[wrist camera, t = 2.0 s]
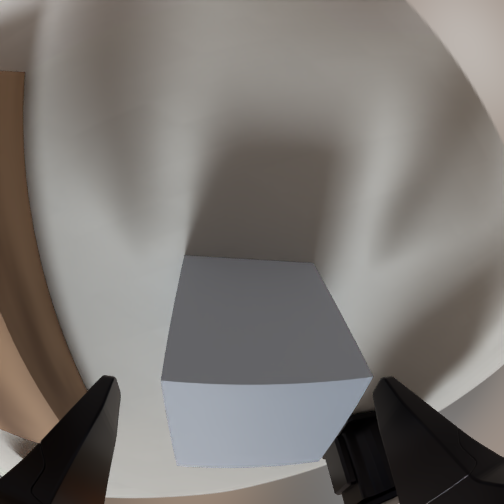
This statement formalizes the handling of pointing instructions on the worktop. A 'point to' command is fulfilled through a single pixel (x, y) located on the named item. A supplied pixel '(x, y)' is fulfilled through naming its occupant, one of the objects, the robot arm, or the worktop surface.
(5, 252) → the walnut block
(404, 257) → the worktop surface
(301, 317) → the gray block
